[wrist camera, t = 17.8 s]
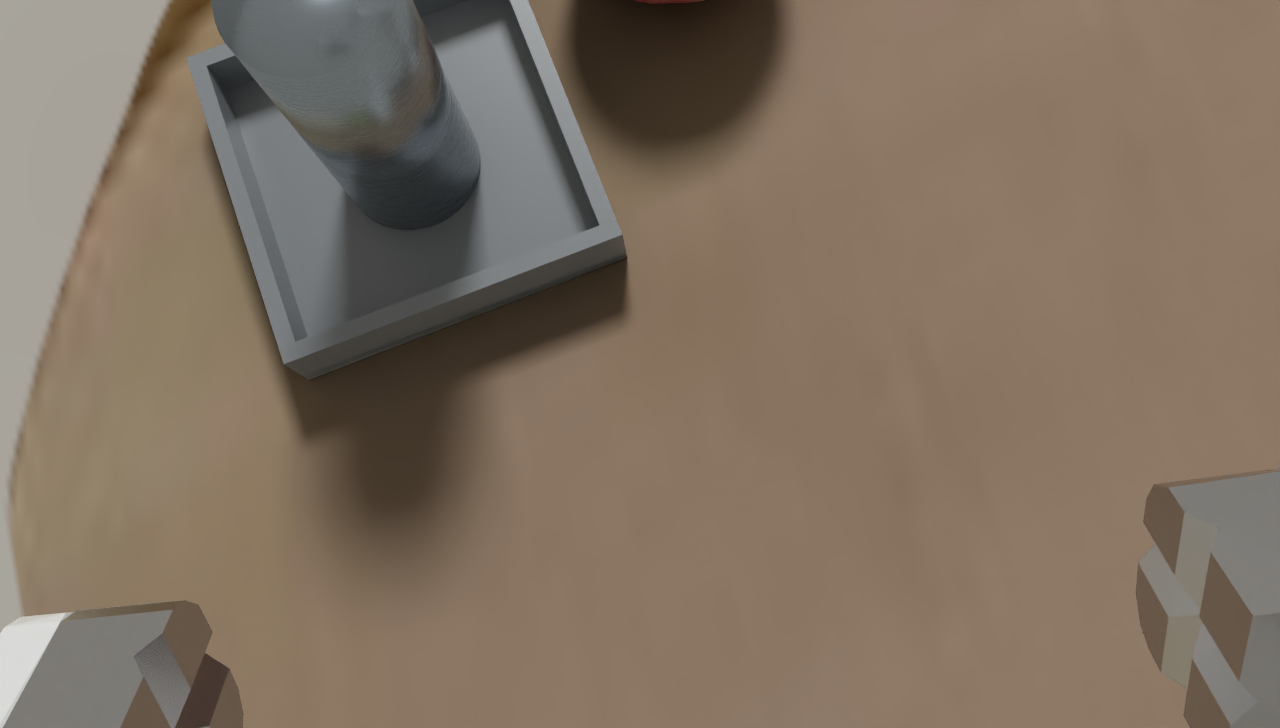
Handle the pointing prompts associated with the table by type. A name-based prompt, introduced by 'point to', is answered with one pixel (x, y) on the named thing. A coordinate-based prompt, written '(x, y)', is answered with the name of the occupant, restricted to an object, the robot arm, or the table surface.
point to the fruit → (668, 1)
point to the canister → (362, 100)
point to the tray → (426, 258)
